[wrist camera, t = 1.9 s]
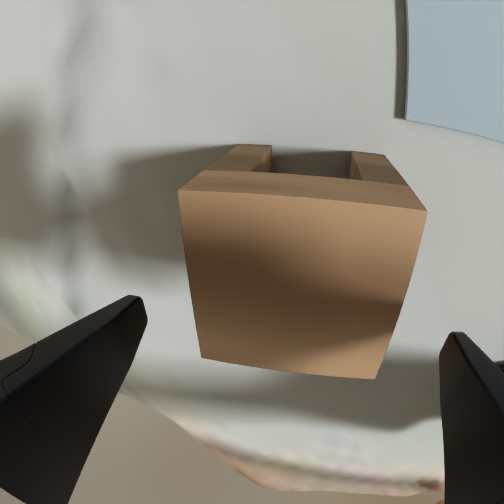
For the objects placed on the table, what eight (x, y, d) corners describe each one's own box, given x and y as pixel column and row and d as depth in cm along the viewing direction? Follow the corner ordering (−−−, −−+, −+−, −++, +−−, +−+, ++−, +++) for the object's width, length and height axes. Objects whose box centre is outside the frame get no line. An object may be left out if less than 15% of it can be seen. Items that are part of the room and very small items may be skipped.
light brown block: (364, 279, 16) (374, 379, 10) (242, 267, 17) (201, 357, 11) (384, 155, 12) (427, 211, 7) (238, 144, 14) (177, 190, 8)
